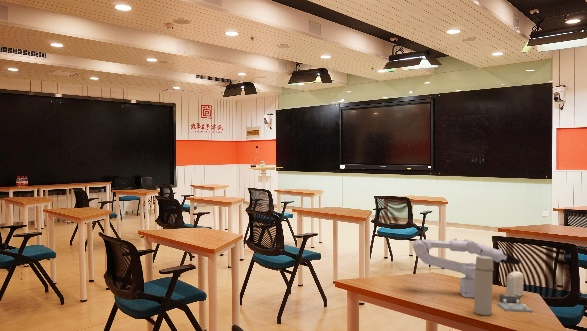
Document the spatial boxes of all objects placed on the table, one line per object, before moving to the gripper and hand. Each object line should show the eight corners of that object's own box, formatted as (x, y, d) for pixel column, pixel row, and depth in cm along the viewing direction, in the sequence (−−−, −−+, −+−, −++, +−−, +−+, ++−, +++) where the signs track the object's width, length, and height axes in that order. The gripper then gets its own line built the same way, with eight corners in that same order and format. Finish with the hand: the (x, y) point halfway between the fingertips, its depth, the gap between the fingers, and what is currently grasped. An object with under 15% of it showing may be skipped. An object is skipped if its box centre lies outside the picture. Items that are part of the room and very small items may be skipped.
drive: (502, 304, 209) (503, 296, 209) (499, 302, 213) (499, 293, 213) (520, 305, 209) (520, 296, 209) (516, 302, 213) (516, 294, 213)
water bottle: (486, 317, 190) (488, 259, 190) (469, 312, 196) (471, 256, 196) (497, 313, 195) (499, 257, 195) (481, 308, 201) (482, 254, 201)
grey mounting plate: (505, 310, 199) (505, 304, 199) (497, 304, 208) (497, 298, 208) (532, 312, 199) (532, 305, 199) (523, 305, 208) (523, 299, 208)
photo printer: (516, 293, 228) (516, 269, 228) (524, 295, 225) (524, 271, 225) (504, 296, 223) (505, 271, 223) (513, 298, 219) (513, 273, 219)
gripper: (495, 245, 214) (524, 255, 211) (487, 244, 228) (514, 253, 225) (491, 259, 213) (520, 269, 211) (483, 257, 228) (510, 267, 225)
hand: (517, 262), depth 218 cm, fingers open, 7 cm apart
